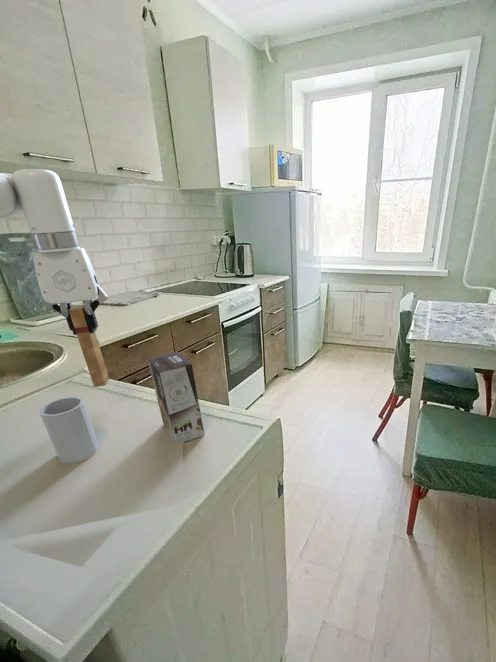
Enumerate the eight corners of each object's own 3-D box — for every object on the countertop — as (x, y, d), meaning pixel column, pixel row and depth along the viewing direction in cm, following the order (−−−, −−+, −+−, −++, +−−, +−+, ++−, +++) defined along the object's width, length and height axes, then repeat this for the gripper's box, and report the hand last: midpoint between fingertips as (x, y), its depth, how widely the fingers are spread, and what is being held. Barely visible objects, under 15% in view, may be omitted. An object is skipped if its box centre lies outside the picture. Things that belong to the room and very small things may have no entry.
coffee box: (206, 435, 73) (193, 363, 66) (175, 446, 70) (158, 372, 63) (191, 416, 80) (178, 350, 73) (163, 426, 77) (146, 357, 70)
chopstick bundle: (93, 387, 81) (68, 310, 73) (98, 379, 85) (74, 305, 77) (105, 385, 82) (81, 308, 74) (109, 378, 85) (86, 304, 77)
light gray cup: (50, 463, 67) (29, 413, 62) (80, 441, 73) (62, 395, 68) (80, 468, 65) (60, 417, 61) (107, 446, 71) (91, 398, 67)
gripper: (2, 247, 65) (38, 342, 73) (96, 240, 68) (121, 332, 76) (19, 244, 71) (51, 331, 79) (105, 238, 74) (127, 323, 82)
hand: (85, 331), depth 78 cm, fingers closed on chopstick bundle, 2 cm apart
